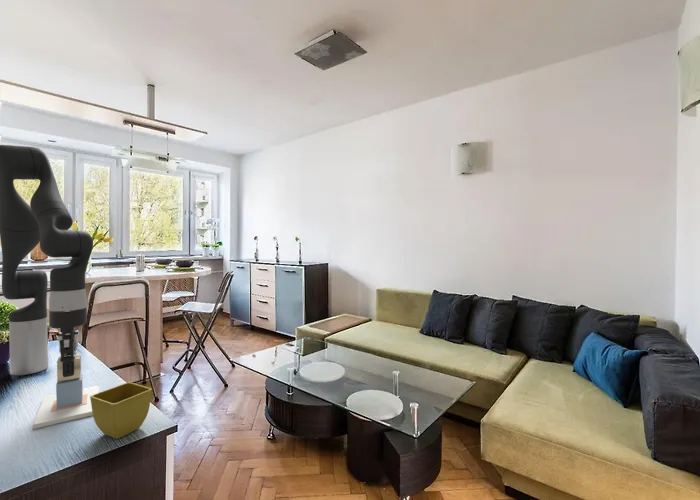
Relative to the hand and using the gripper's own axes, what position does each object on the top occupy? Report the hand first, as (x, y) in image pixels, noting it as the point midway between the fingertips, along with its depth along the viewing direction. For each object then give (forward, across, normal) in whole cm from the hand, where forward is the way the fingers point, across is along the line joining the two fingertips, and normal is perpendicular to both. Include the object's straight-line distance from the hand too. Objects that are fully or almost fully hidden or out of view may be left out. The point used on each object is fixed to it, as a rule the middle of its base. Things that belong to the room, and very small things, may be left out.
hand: (69, 372), depth 89 cm
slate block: (+8, 0, 0) cm, 8 cm away
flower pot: (+9, +22, +11) cm, 26 cm away
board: (+9, 0, 0) cm, 9 cm away
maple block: (+1, 0, 0) cm, 1 cm away
